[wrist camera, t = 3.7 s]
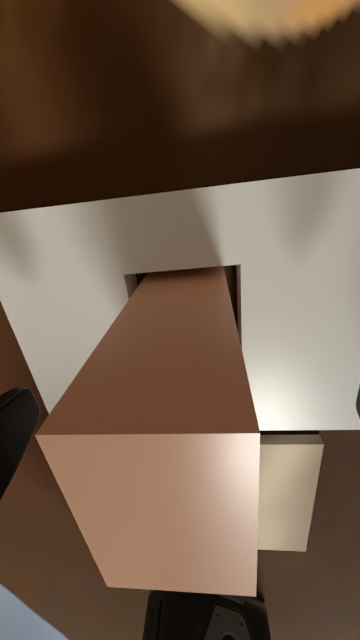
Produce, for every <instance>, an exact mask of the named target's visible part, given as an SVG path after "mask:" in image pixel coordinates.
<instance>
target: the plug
mask: <svg viewBox="0 0 360 640" xmlns="http://www.w3.org/2000/svg"><path fill="white" fill-rule="evenodd" d="M35 437H36V439H37V441H38V443H39V445H40V447H41V449H42V451H43V453H44V455H45V457H46V460H47V462H48V464H49V466H50V468H51V470H52V472H53V474H54V476H55V478H56V480H57V482H58V485H59V487H60V489H61V491H62V493H63V495H64V497H65V499H66V501H67V503H68V505H69V507H70V510H71V512H72V514H73V516H74V518H75V520H76V522H77V524H78V526H79V528H80V530H81V532H82V535H83V537H84V539H85V541H86V543H87V545H88V547H89V549H90V551H91V553H92V555H93V557H94V560H95V562H96V564H97V566H98V568H99V570H100V572H101V574H102V576H103V578H104V580H105V582H106V585H107V587H119V588H134V589H149V590H164V591H179V592H194V593H209V594H224V595H239V596H253V597H256V586H257V544H258V503H259V461H260V430H259V426H258V421H257V417H256V412H255V408H254V403H253V399H252V394H251V389H250V385H249V380H248V376H247V371H246V367H245V362H244V358H243V353H242V349H241V344H240V340H239V335H238V331H237V326H236V322H235V317H234V312H233V308H232V303H231V299H230V294H229V290H228V285H227V281H226V276H225V272H224V267H223V266H216V267H205V268H193V269H181V270H170V271H158V272H148V273H147V274H146V276H145V277H144V279H143V280H142V282H141V283H140V284H139V286H138V287H137V289H136V290H135V292H134V293H133V294H132V296H131V297H130V299H129V300H128V302H127V303H126V305H125V306H124V307H123V309H122V310H121V312H120V313H119V315H118V316H117V317H116V319H115V320H114V322H113V323H112V325H111V326H110V328H109V329H108V330H107V332H106V333H105V335H104V336H103V338H102V339H101V341H100V342H99V343H98V345H97V346H96V348H95V349H94V351H93V352H92V353H91V355H90V356H89V358H88V359H87V361H86V362H85V364H84V365H83V366H82V368H81V369H80V371H79V372H78V374H77V375H76V376H75V378H74V379H73V381H72V382H71V384H70V385H69V387H68V388H67V389H66V391H65V392H64V394H63V395H62V397H61V398H60V399H59V401H58V402H57V404H56V405H55V407H54V408H53V410H52V411H51V412H50V414H49V415H48V417H47V418H46V420H45V421H44V423H43V424H42V425H41V427H40V428H39V430H38V431H37V433H36V434H35Z"/></svg>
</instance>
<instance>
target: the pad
mask: <svg viewBox="0 0 360 640" xmlns="http://www.w3.org/2000/svg"><path fill="white" fill-rule="evenodd" d="M323 447H324V444H323V442H322V439H321V437H320V435H260V461H259V503H258V544H257V549H262V550H284V551H306V547H307V541H308V535H309V529H310V523H311V517H312V511H313V505H314V500H315V494H316V488H317V482H318V476H319V470H320V464H321V458H322V452H323Z"/></svg>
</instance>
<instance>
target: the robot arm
mask: <svg viewBox="0 0 360 640" xmlns="http://www.w3.org/2000/svg"><path fill="white" fill-rule="evenodd" d="M356 410H357V413H358V416H359V418H360V385H359V390H358V394H357V399H356ZM39 415H40V408H39V406H38V404H37V401H36V399H35V397H34V394H33V392H32V390H31V389H29V388H14V389H11V390H10V391H8V392H6V393H4V394H2V395H0V500H1V498H2V496H3V494H4V492H5V490H6V489H7V487H8V485H9V483H10V481H11V479H12V477H13V475H14V473H15V471H16V469H17V467H18V465H19V463H20V461H21V458H22V456H23V454H24V451H25V449H26V447H27V444H28V442H29V440H30V437H31V435H32V433H33V430H34V428H35V426H36V423H37V421H38V419H39Z"/></svg>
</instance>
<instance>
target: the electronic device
mask: <svg viewBox="0 0 360 640" xmlns="http://www.w3.org/2000/svg"><path fill="white" fill-rule="evenodd" d="M142 640H271V638H270V631H269V624H268V617H267V609H266V607H265V605H264V604H263V603H262V602H261V601H260V600H259V599H258V598H256V597H253V596H239V595H224V594H209V593H194V592H179V591H164V590H150V591H149V597H148V604H147V611H146V618H145V625H144V632H143V639H142Z"/></svg>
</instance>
